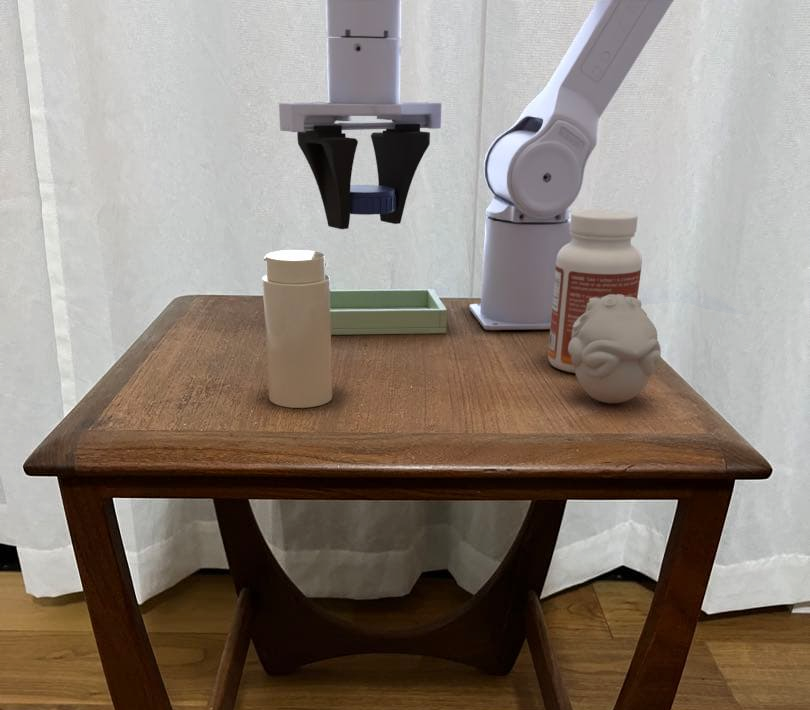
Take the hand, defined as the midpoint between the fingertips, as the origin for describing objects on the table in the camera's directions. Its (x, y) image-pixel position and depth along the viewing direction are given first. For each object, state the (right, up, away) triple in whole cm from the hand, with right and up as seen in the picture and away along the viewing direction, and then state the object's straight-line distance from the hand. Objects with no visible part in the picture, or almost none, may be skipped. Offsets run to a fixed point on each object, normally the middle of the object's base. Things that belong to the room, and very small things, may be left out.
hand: (364, 225), depth 74 cm
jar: (-4, -17, -14) cm, 22 cm away
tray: (0, -7, +4) cm, 8 cm away
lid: (0, +2, -1) cm, 2 cm away
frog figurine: (+17, -17, -13) cm, 28 cm away
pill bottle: (+17, -13, -6) cm, 23 cm away
